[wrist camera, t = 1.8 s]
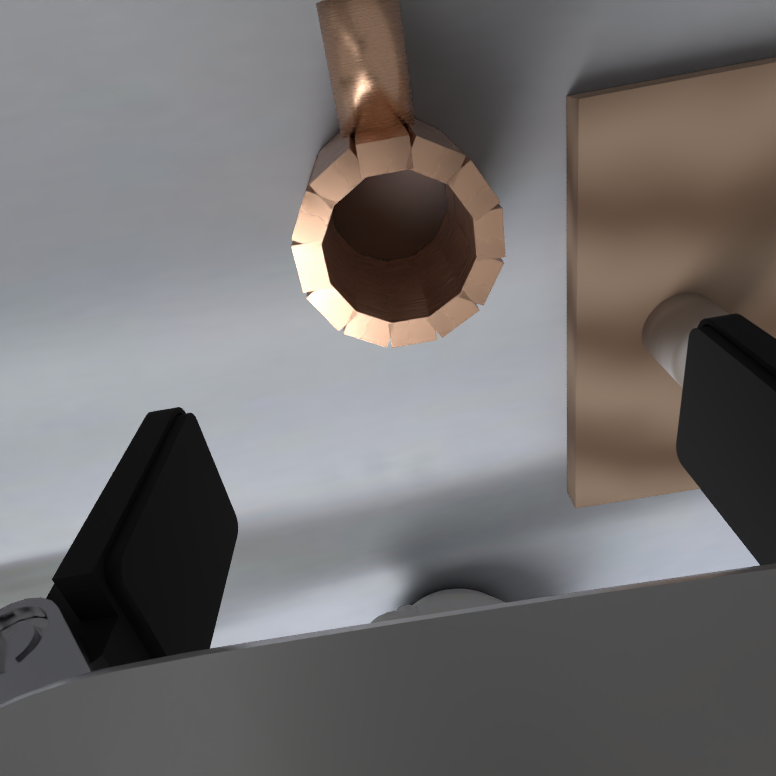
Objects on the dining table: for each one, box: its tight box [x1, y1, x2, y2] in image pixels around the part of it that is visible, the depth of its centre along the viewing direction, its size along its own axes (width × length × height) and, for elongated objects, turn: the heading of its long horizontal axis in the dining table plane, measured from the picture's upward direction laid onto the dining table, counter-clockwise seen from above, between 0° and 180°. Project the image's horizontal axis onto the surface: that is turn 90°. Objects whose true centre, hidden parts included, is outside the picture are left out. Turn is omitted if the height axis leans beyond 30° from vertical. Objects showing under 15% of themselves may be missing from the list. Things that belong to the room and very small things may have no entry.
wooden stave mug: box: [291, 0, 505, 348], centre depth 22 cm, size 7×11×7 cm, turn 9°
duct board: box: [567, 57, 776, 508], centre depth 26 cm, size 22×10×8 cm, turn 9°
